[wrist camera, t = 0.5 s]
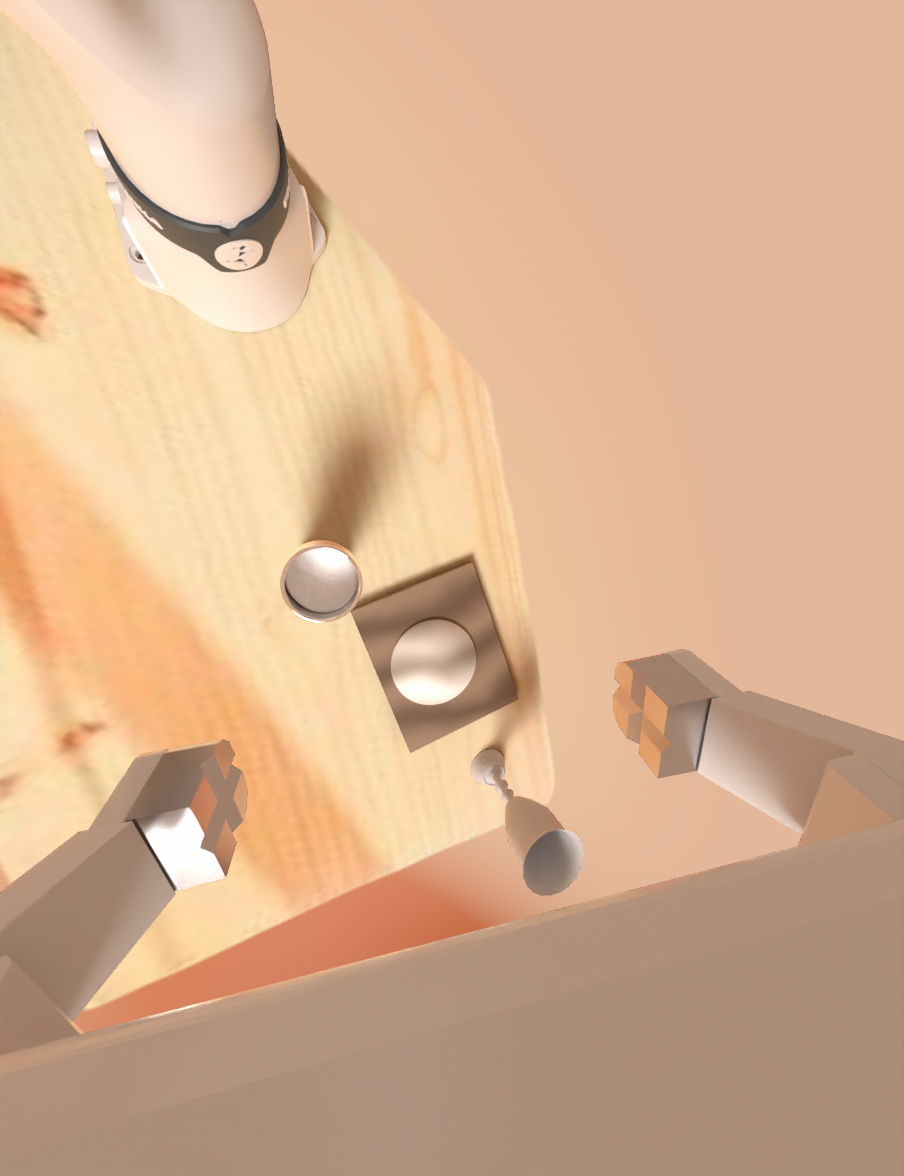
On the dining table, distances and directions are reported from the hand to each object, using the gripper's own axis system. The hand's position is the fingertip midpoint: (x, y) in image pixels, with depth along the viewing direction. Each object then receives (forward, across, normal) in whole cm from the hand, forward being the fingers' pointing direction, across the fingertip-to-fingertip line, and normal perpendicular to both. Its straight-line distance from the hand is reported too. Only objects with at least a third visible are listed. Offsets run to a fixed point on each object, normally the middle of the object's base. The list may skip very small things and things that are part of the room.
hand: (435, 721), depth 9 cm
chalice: (+36, -8, +42) cm, 56 cm away
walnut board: (+40, -3, +25) cm, 47 cm away
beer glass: (+42, +9, +11) cm, 44 cm away
